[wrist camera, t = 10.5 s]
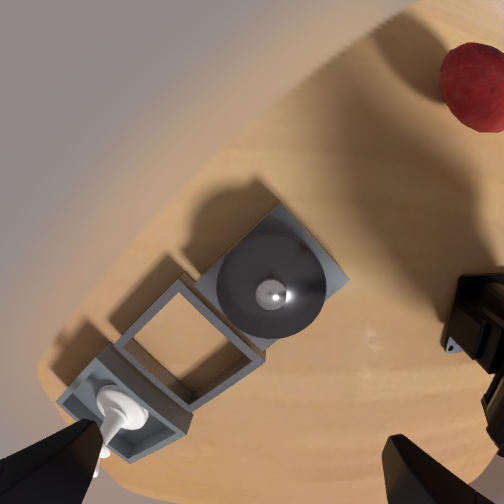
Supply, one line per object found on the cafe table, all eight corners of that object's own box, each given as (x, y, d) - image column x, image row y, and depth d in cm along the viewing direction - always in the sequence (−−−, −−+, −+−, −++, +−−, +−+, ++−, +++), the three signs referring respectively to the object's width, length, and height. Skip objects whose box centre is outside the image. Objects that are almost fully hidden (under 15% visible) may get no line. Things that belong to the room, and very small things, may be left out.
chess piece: (89, 386, 22) (32, 459, 13) (131, 381, 22) (76, 469, 12) (116, 425, 23) (73, 501, 14) (158, 424, 23) (120, 511, 13)
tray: (109, 341, 22) (95, 356, 19) (193, 414, 23) (186, 434, 20) (68, 387, 24) (55, 401, 21) (137, 447, 25) (129, 463, 22)
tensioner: (269, 189, 18) (269, 192, 15) (351, 279, 19) (368, 302, 16) (121, 335, 22) (98, 361, 18) (194, 400, 23) (182, 434, 19)
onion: (410, 60, 16) (469, 13, 8) (470, 64, 15) (533, 33, 7) (431, 139, 17) (506, 125, 9) (489, 136, 16) (562, 128, 8)
